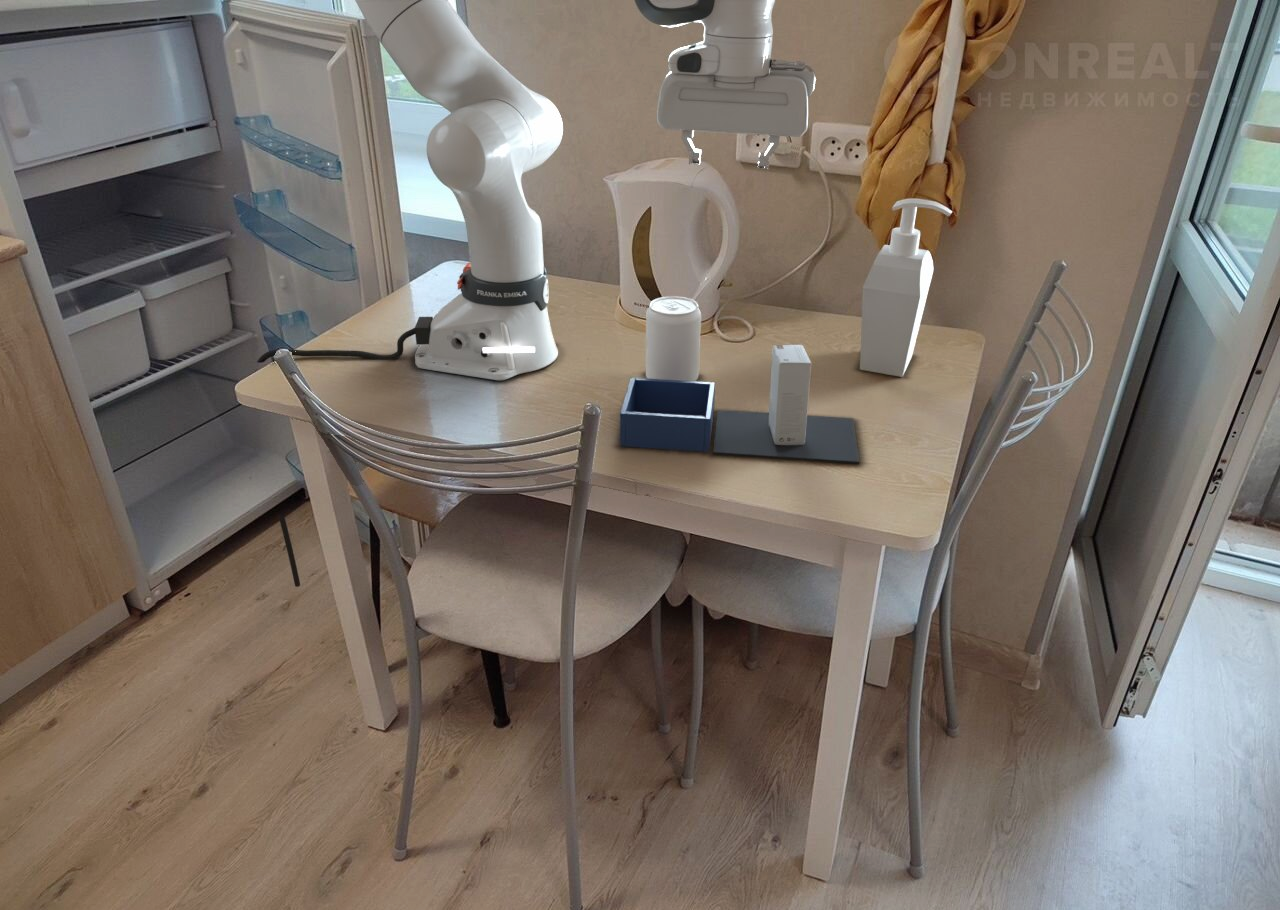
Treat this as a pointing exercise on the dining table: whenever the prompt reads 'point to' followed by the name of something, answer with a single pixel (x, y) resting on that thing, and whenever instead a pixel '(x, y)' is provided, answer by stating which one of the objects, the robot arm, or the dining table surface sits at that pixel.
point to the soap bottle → (896, 295)
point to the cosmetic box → (789, 394)
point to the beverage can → (673, 339)
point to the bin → (667, 427)
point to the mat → (754, 439)
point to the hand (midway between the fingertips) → (728, 165)
